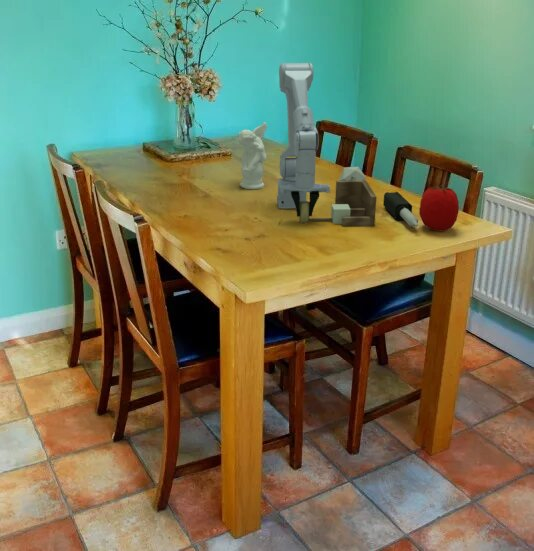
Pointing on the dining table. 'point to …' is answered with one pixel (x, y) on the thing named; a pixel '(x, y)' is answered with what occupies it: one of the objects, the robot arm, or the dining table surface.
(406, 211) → the black and grey rod
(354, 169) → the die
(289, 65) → the robot arm
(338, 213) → the pull block
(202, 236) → the dining table surface
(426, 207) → the red apple
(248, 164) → the cherub figurine
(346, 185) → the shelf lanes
